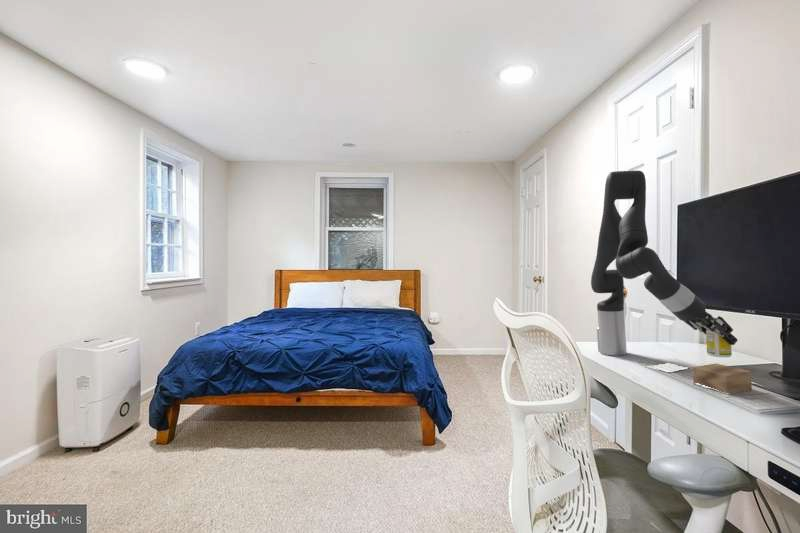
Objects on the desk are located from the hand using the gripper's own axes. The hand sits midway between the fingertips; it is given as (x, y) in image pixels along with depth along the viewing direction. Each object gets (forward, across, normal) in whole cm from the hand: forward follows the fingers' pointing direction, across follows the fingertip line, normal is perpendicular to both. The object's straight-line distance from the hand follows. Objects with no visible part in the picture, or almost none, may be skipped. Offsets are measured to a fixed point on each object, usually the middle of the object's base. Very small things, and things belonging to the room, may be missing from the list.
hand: (724, 340), depth 105 cm
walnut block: (+8, 0, +10) cm, 13 cm away
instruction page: (+7, +19, +12) cm, 24 cm away
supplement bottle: (+2, 0, +4) cm, 5 cm away
